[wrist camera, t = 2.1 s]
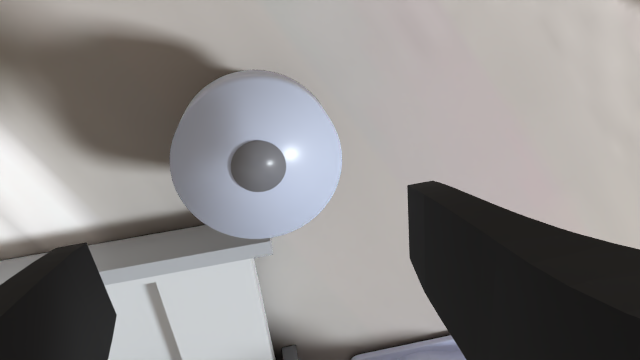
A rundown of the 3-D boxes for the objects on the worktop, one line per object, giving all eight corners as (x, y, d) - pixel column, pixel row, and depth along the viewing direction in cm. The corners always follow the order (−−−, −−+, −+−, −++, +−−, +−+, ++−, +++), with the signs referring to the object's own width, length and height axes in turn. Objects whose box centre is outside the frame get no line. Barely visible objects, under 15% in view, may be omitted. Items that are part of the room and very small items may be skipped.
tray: (267, 214, 21) (270, 241, 19) (296, 370, 25) (301, 406, 23) (-129, 283, 19) (-176, 321, 17) (-22, 437, 24) (-48, 482, 22)
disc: (324, 59, 15) (334, 69, 13) (338, 200, 17) (349, 225, 16) (158, 82, 14) (147, 96, 13) (197, 225, 17) (192, 253, 15)
